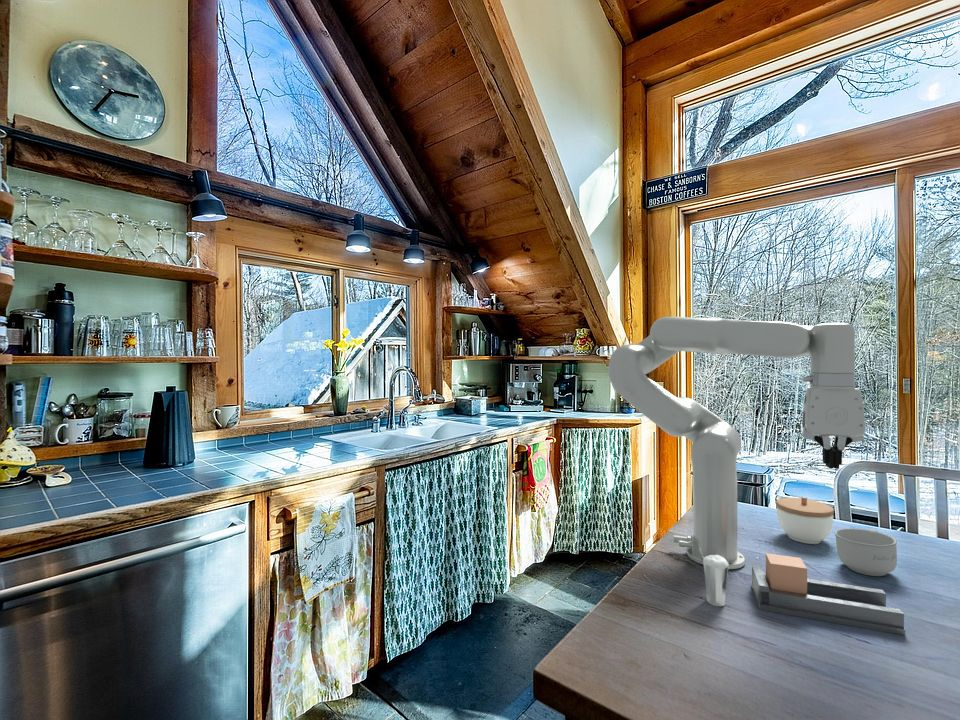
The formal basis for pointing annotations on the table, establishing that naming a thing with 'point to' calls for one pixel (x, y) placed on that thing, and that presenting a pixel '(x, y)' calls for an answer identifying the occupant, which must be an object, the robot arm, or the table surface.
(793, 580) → the block
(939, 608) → the table surface
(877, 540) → the teacup
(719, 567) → the milkshake
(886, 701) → the table surface
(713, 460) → the robot arm
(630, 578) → the table surface
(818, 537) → the lidded bowl
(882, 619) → the chute
